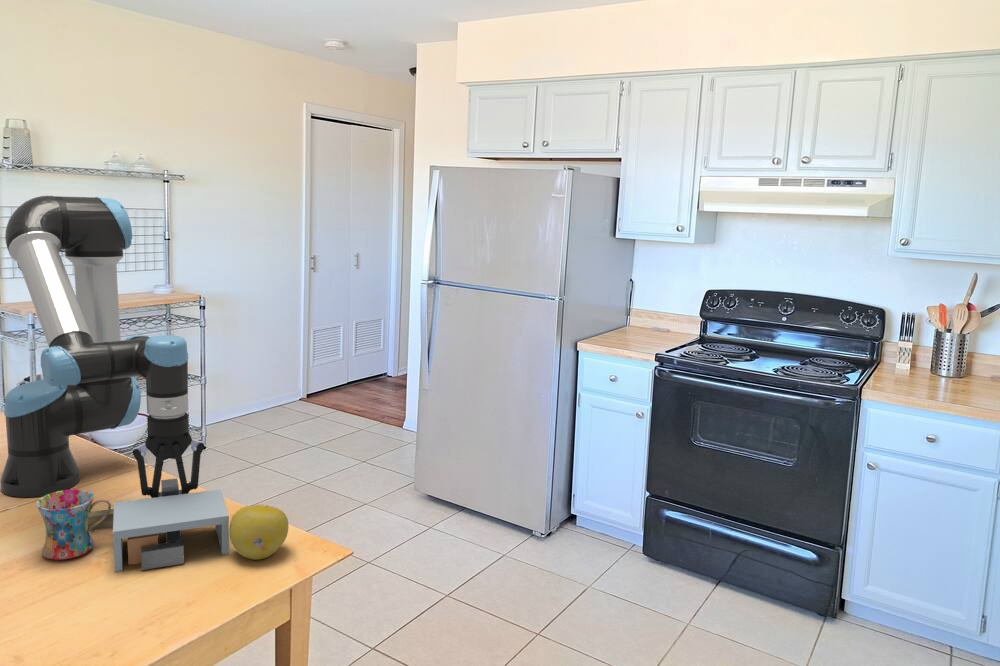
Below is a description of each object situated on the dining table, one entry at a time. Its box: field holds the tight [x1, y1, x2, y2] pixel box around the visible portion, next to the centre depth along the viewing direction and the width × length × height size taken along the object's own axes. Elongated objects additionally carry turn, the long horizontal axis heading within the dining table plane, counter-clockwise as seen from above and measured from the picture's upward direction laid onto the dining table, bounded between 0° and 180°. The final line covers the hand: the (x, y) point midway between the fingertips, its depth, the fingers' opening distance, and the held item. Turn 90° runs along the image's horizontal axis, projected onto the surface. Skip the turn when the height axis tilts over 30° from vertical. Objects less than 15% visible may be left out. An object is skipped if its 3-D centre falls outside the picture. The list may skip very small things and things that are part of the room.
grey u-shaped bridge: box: [112, 489, 230, 573], centre depth 139 cm, size 13×19×8 cm
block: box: [127, 533, 159, 565], centre depth 136 cm, size 5×5×5 cm
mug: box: [35, 488, 112, 561], centre depth 136 cm, size 12×9×11 cm
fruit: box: [229, 503, 289, 561], centre depth 139 cm, size 10×11×10 cm
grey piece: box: [141, 478, 185, 571], centre depth 140 cm, size 19×7×9 cm, turn 28°
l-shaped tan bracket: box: [88, 508, 114, 531], centre depth 145 cm, size 10×3×7 cm, turn 117°
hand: (170, 522), depth 148 cm, fingers closed on grey piece, 3 cm apart
